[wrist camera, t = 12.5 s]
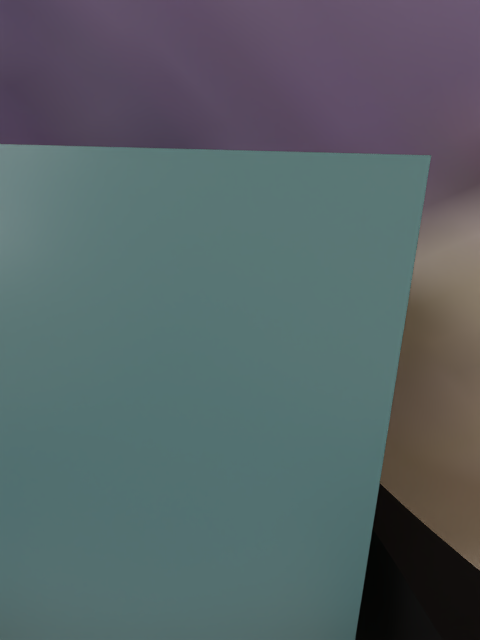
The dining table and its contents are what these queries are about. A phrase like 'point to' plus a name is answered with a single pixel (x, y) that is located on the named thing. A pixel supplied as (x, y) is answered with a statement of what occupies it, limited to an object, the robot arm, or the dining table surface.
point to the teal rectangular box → (196, 386)
